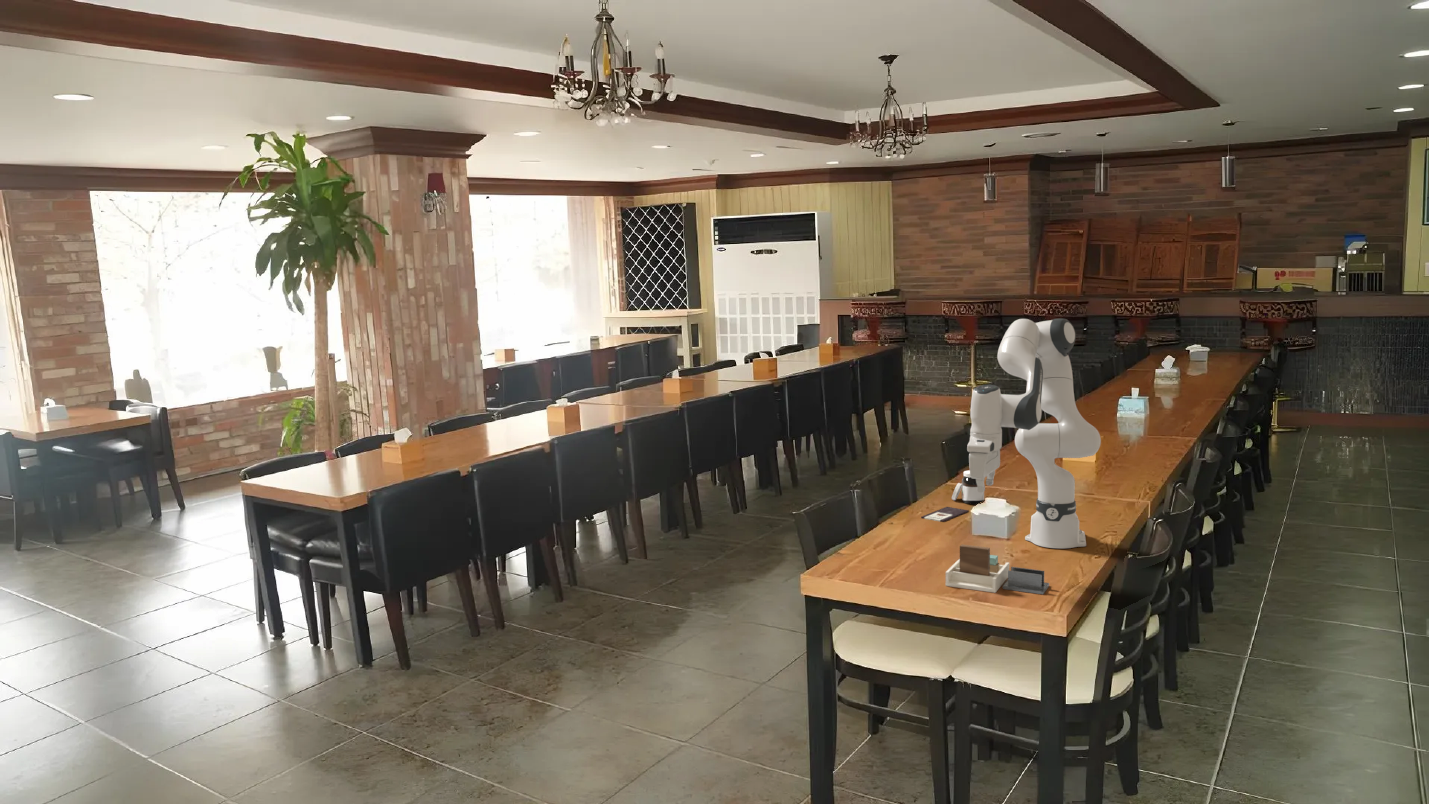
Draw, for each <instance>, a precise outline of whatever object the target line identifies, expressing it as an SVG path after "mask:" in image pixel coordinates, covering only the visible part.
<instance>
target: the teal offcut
mask: <svg viewBox="0 0 1429 804" xmlns="http://www.w3.org/2000/svg"><path fill="white" fill-rule="evenodd" d="M997 563H999V555H995V554H990V565H996V564H997Z"/></svg>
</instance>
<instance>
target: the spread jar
mask: <svg viewBox="0 0 1429 804" xmlns="http://www.w3.org/2000/svg"><path fill="white" fill-rule="evenodd" d="M960 492H961V500H962V502H963V503H964V504H967V505H979V504H978V503H980V502H982V501H983V502H984V501H985V491H984V492H978V491H977V483H976V479H972V478H971V476H970V469H969V470H964V471H963V477H962V479H961V482H958V483H957V484H956V486H955V488H954V490H953V493H952V496H951V500H953V501H956V500H957V499H958V497H959V495H960Z"/></svg>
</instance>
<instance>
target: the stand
mask: <svg viewBox="0 0 1429 804" xmlns="http://www.w3.org/2000/svg"><path fill="white" fill-rule="evenodd" d="M1049 587H1050V583H1049V582H1045V570H1039V569H1032V568H1026V567H1025V568H1024V567H1018V566H1010V569H1009V570H1008V578H1007V579H1006V580H1005V582H1004V583H1003V584H1002V590H1007V591H1009V590H1010V591H1015V592H1022V593H1028V594H1035V595H1036V594H1038V595H1045V593H1046V591H1047V589H1048V588H1049Z"/></svg>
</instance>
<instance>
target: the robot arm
mask: <svg viewBox="0 0 1429 804" xmlns="http://www.w3.org/2000/svg"><path fill="white" fill-rule="evenodd" d="M1076 339H1077V337H1076V330H1075V328H1074V325H1073V324H1072V323H1071V322H1070V320H1068V319H1066V318H1053V319H1051V320H1043V321H1039V322H1034V321H1033V320H1031V319H1028V318H1019V319H1016V320H1014V321H1013V322H1012V323H1011V324H1010V325H1009V326H1008V328H1007V330H1006V331H1005V333H1004V335H1003V337H1002V340H1001V341H1000V344H999V347H998V350H997V356H996V357H997V361H998V364H999V366H1000V368H1002V370H1003V371H1005V372H1006V373H1007V374H1008V375H1010V376H1013V377H1017V378H1020V379H1023V380H1024V381H1026V391H1025V393H1022V394H1007V393H1006V394H1005V393H1003V394H1002V393H1001V389H1000V387H999V386H998V385H994V384H982V385H977V386H975V387H974V388H973V390H972V394H971V401H970V413H969V415H970V421H971V426H970V429H969V431H970V433H969V435H970V436H969V441H968V443H967V447H966V450H967V452H968V453H969V454H968V463H969V464H968V465H969V466H968V467H969V470H970V476H971V478H972V479H976V483H977V491H978V492H984V493H985V491H986V486H987V487H989V486H993V485H994V478H995V475H996V474H995V473H996V470H998V468H1000V466H1001V449H1002V446H1003V445H1002V443H1003V429H1002V428H1014V429H1018V430H1016V432H1015V436H1014V445H1015V448H1016V451H1018V453H1019V454H1021V456H1023V457H1024V458H1025V459H1027V460H1028V462H1029V463H1030V464H1031V466H1032V467H1033V469H1034V471H1035V475H1036V479H1037V498H1036V502H1035V506H1036V508H1035V509H1036V511H1035V513H1033V514H1032V515H1031V516H1030V517H1031V518H1030V533H1029V534H1027V535H1025V537H1024V539H1025V541H1029V542H1031V543H1033V544H1034V545H1036V546H1039V547H1043V548H1050V549H1071V548H1077V547H1078V548H1079V547H1081V548H1082V547H1083V548H1084V547H1087V541H1086V540H1087V539H1086V534H1085V533H1086V532H1085V531H1083V530H1082V529H1080V519H1079V517H1078V515H1077V513H1076V512H1077V501H1076V500H1075V499H1076V497H1075V494H1076V493H1075V492H1076V489H1075V486H1076V484H1075V483H1076V480H1075V477H1074V475H1073V473H1071V471H1069V470H1067V469H1066V468H1063V467H1060V466H1059V465H1057V463H1056V462H1055V459H1059V458H1060V459H1063V458H1064V459H1067V458H1068V459H1080V458H1082V459H1083V458H1089V457H1092V456H1095V455H1096V453H1098V451H1099V449H1100V447H1101V444H1102V439H1101V435H1100V432H1099V430H1098V429H1097V427H1095V426H1093V425H1092V424H1091V423H1089V422H1088V421H1087V420H1086V419H1085V418H1084V417H1083V416H1082V414H1081V413H1080V411H1079V410H1078V407H1077V405H1076V399H1075V393H1074V378H1073V370H1072V369H1073V367H1072V363H1071V359H1070V356H1069V355H1070V354H1071V350H1072V349H1073V347H1074V345H1075V342H1076ZM1042 412H1044V413H1046V414H1048V415H1050V416H1052V417H1054V418H1055V419H1056V421H1057V422H1058V423H1054V422H1053V423H1051V422H1050V423H1048V422H1047V423H1045V422H1043V423H1040V422H1041V419H1042ZM985 479H986V480H985Z"/></svg>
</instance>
